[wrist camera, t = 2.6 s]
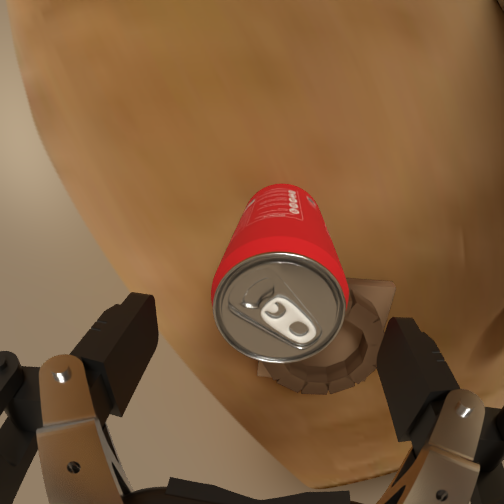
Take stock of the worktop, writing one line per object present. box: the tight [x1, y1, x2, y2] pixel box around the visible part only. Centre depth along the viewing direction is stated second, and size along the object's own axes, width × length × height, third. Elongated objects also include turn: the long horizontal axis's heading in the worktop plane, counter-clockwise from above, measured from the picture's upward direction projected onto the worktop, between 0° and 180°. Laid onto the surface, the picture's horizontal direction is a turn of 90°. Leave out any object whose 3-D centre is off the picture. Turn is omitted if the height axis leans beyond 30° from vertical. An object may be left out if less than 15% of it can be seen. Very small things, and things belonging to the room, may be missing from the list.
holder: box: [257, 278, 396, 395], centre depth 24 cm, size 10×10×3 cm
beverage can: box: [211, 184, 349, 363], centre depth 16 cm, size 5×5×12 cm
